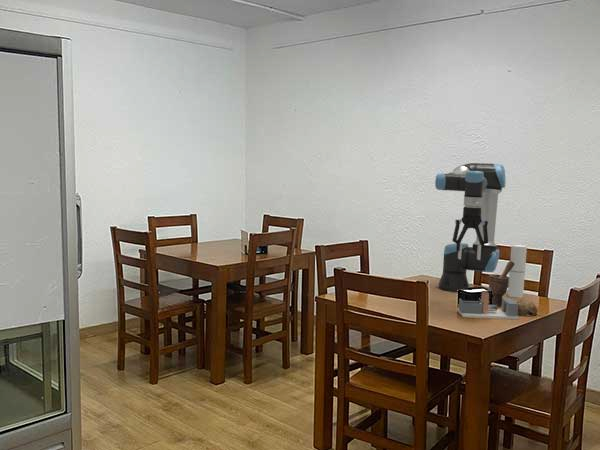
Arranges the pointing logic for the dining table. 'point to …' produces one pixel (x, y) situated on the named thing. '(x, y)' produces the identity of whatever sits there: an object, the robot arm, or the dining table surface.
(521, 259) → the cylindrical container
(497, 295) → the mortar and pestle
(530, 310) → the bread roll
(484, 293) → the slip tube
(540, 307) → the dining table surface
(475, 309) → the guide base
